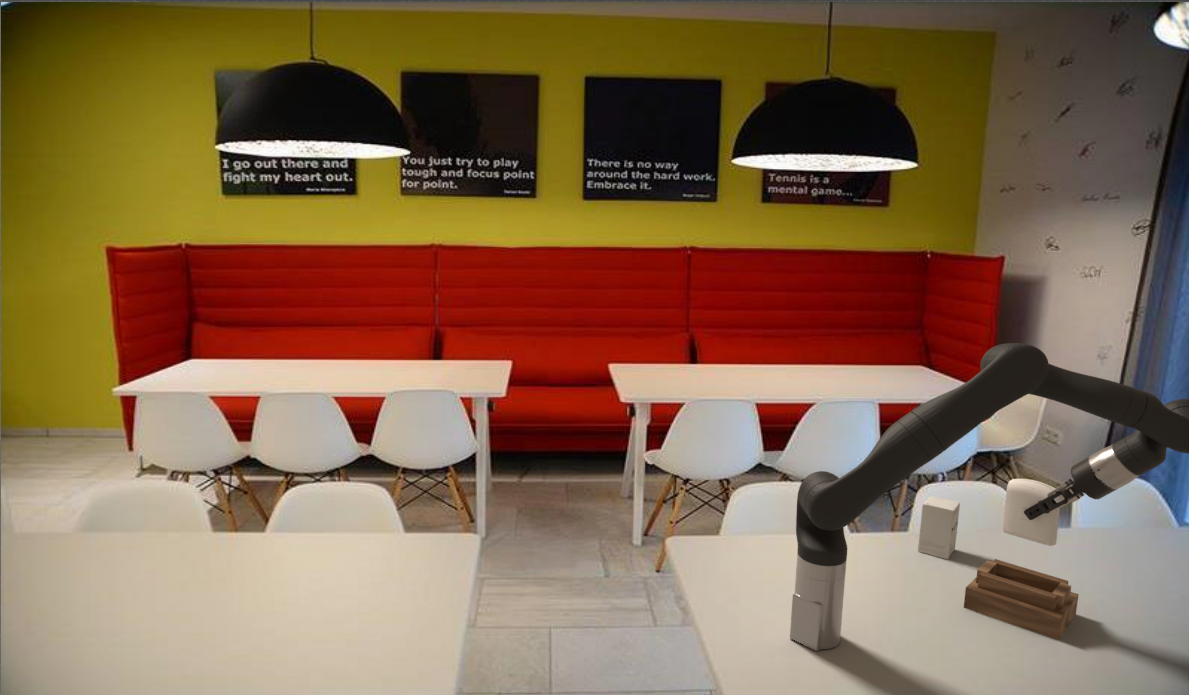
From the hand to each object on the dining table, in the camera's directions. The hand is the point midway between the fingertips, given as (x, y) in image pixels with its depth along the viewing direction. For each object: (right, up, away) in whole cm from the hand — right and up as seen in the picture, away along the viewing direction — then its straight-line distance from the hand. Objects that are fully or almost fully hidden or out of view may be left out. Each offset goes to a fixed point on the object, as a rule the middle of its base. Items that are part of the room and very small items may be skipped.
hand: (1031, 512), depth 164 cm
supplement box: (-6, -17, +33) cm, 37 cm away
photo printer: (0, -6, +1) cm, 6 cm away
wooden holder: (0, -22, +4) cm, 22 cm away
